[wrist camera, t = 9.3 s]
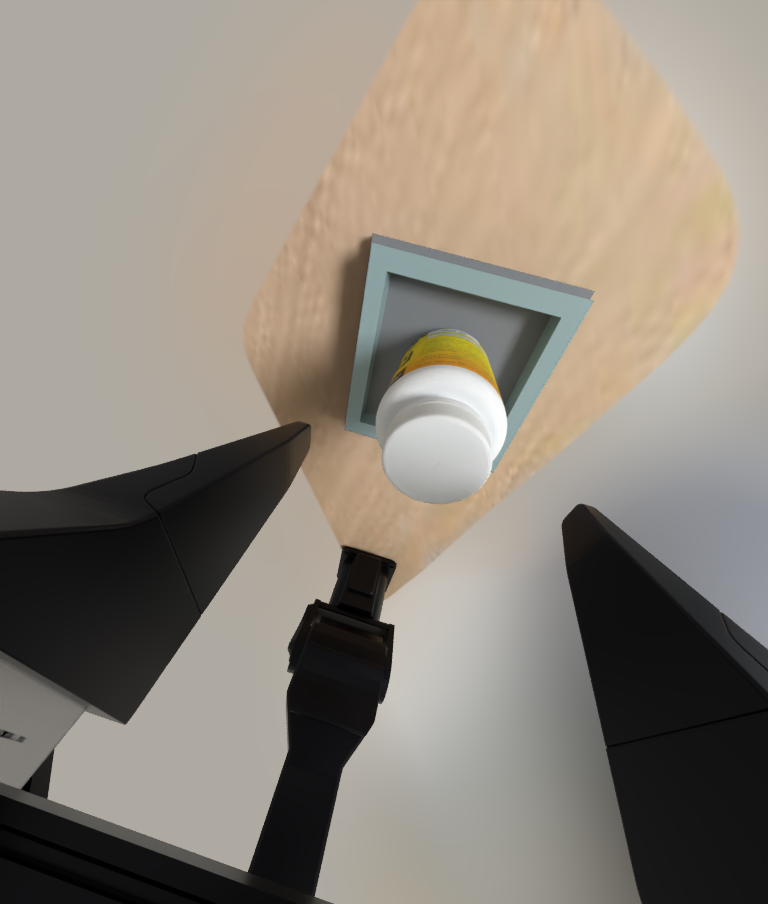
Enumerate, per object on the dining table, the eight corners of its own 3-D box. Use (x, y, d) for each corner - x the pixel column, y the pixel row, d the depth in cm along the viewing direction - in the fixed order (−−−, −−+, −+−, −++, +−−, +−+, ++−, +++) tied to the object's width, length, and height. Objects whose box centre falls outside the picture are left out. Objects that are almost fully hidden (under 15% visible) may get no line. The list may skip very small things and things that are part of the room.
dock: (492, 458, 22) (495, 478, 20) (348, 417, 23) (338, 432, 21) (587, 289, 15) (607, 294, 13) (376, 234, 16) (365, 230, 14)
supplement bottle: (411, 317, 17) (369, 372, 9) (503, 337, 16) (553, 415, 8) (394, 401, 20) (352, 499, 12) (470, 419, 20) (483, 534, 11)
